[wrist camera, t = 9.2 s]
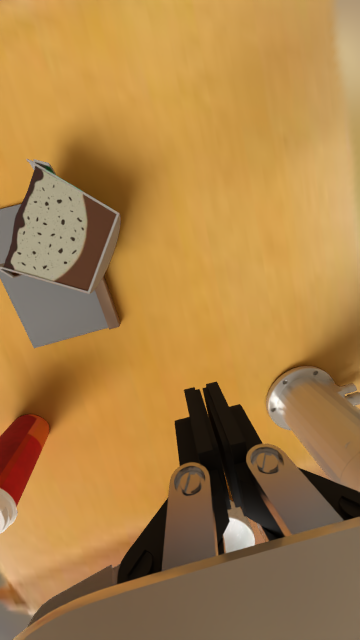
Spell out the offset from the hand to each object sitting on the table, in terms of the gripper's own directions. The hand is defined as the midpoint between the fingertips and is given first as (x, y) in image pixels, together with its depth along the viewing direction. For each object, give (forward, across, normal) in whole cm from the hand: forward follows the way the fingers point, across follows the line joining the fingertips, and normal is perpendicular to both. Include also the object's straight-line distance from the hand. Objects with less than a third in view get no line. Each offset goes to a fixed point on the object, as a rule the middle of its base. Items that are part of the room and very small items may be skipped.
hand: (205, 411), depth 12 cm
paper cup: (+25, +26, +15) cm, 39 cm away
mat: (+25, +16, -8) cm, 30 cm away
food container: (+21, +6, -8) cm, 24 cm away
